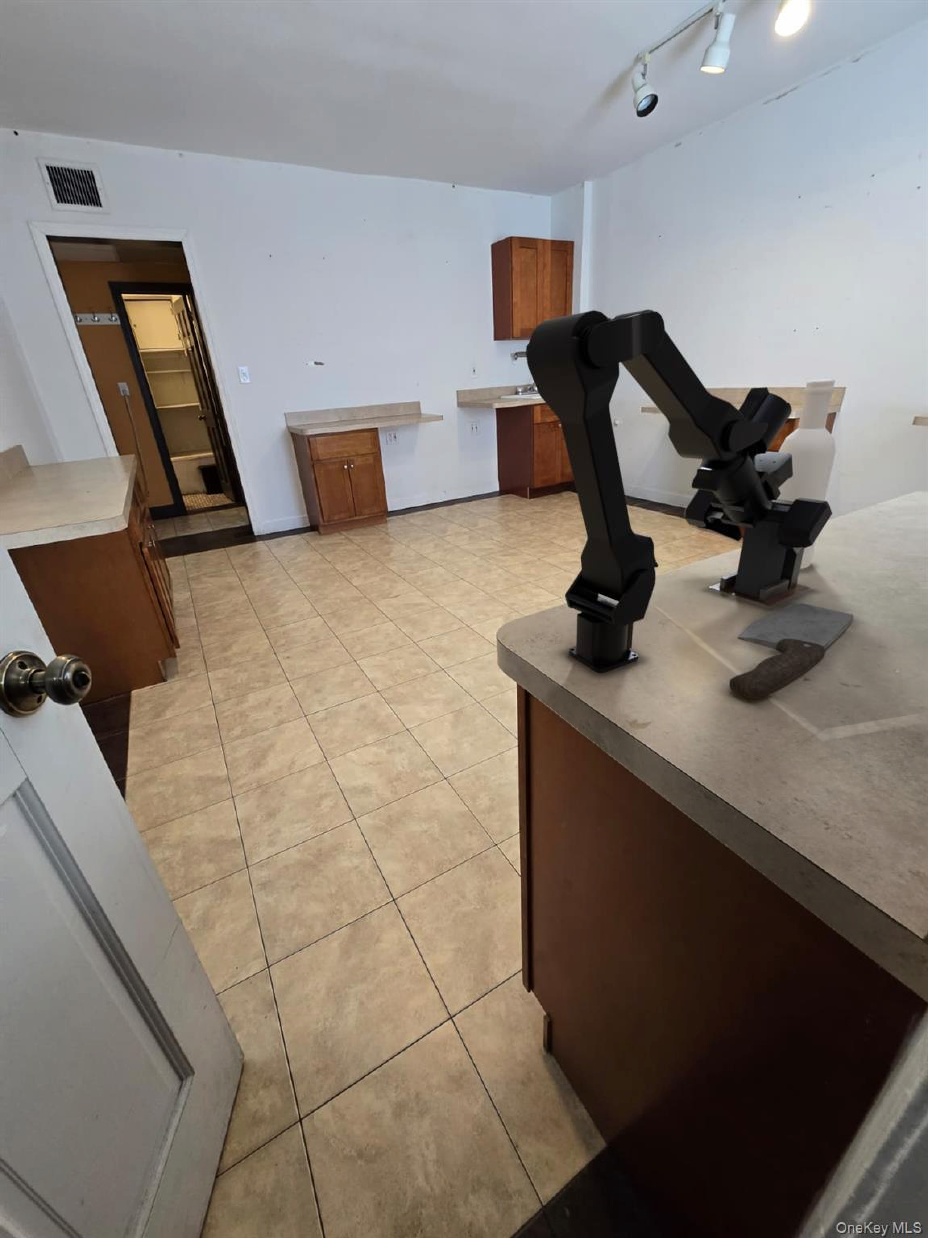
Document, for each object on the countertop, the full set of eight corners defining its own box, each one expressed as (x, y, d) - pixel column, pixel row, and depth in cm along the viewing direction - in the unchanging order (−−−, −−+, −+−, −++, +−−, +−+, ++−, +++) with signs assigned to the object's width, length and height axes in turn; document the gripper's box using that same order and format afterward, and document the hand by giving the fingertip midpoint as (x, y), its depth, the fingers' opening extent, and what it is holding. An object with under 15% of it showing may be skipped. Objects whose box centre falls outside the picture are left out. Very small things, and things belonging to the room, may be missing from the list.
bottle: (766, 555, 96) (798, 379, 84) (814, 562, 91) (857, 376, 79) (752, 567, 91) (784, 382, 79) (803, 575, 86) (846, 379, 74)
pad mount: (768, 609, 75) (786, 518, 70) (707, 590, 83) (719, 507, 78) (809, 590, 80) (828, 504, 75) (748, 574, 88) (761, 495, 83)
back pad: (757, 598, 78) (774, 513, 72) (733, 590, 81) (748, 508, 75) (777, 591, 80) (795, 507, 74) (753, 583, 83) (769, 503, 78)
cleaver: (779, 712, 53) (783, 695, 52) (687, 680, 60) (689, 664, 59) (856, 621, 71) (860, 607, 70) (779, 603, 77) (781, 590, 76)
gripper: (842, 436, 62) (864, 510, 72) (705, 431, 77) (738, 493, 86) (793, 512, 62) (821, 576, 71) (665, 492, 77) (702, 548, 86)
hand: (767, 544), depth 79 cm, fingers open, 9 cm apart
